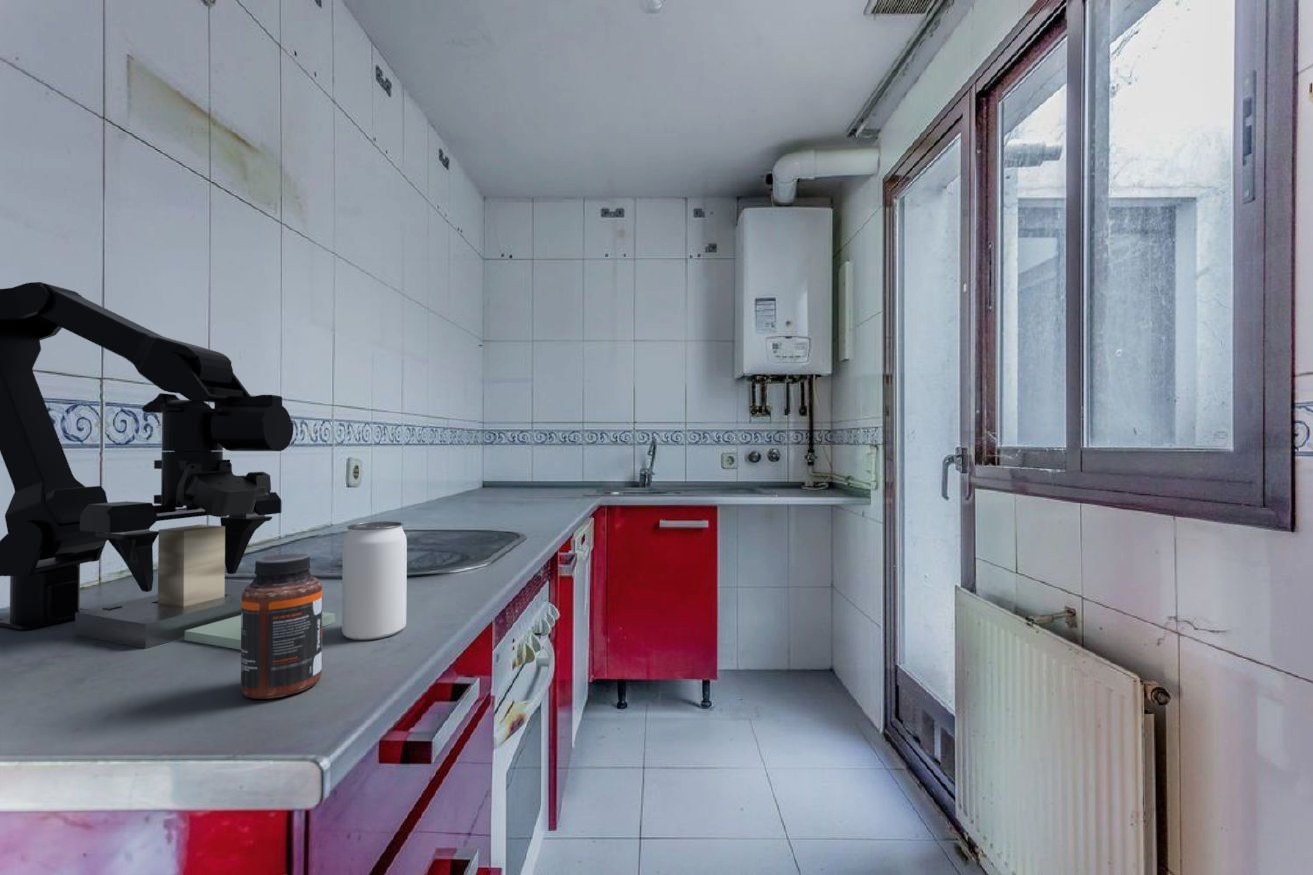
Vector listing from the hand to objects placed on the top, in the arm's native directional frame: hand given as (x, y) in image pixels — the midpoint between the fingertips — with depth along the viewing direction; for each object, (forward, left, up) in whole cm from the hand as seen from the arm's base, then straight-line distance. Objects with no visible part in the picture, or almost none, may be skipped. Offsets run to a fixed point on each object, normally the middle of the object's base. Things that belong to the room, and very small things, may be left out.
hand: (191, 581), depth 69 cm
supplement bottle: (+28, -10, -5) cm, 30 cm away
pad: (+12, 0, -4) cm, 13 cm away
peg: (0, 0, -5) cm, 5 cm away
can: (+24, +4, -5) cm, 25 cm away
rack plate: (0, 0, -4) cm, 4 cm away
